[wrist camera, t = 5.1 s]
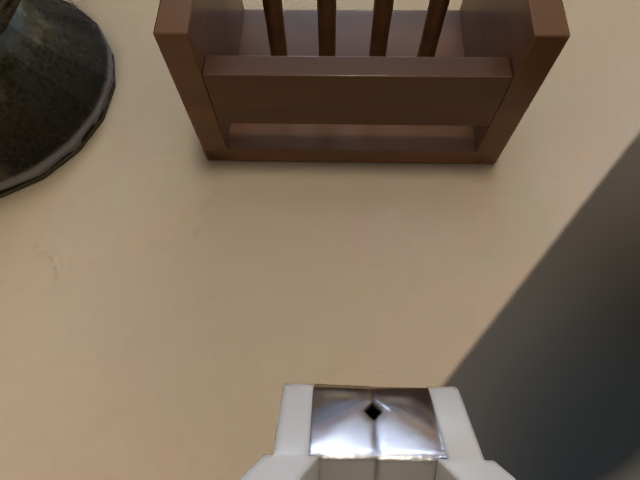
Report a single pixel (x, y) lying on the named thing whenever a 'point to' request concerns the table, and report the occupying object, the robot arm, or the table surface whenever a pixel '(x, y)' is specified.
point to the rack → (359, 77)
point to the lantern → (48, 87)
